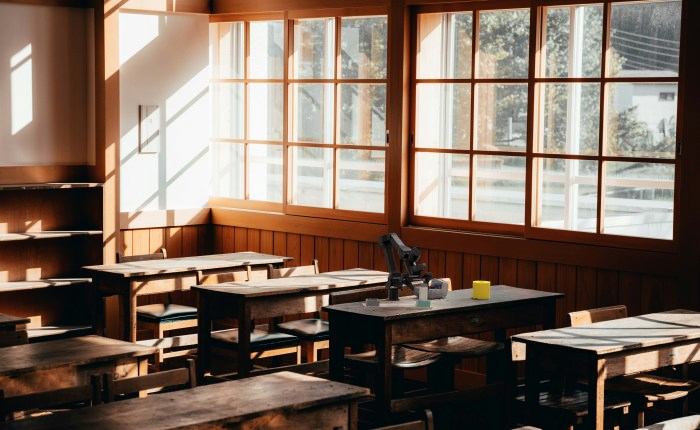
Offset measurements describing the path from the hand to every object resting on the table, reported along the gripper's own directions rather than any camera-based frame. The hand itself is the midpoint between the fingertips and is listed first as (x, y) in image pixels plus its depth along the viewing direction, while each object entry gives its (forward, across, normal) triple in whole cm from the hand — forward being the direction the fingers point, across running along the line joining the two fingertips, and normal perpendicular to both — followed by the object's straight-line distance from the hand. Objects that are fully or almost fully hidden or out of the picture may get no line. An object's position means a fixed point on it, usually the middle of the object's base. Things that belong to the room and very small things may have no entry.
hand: (421, 290), depth 577 cm
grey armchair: (-15, +25, +29) cm, 41 cm away
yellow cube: (-8, +53, +22) cm, 58 cm away
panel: (+4, -12, +10) cm, 16 cm away
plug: (+8, 0, +4) cm, 9 cm away
